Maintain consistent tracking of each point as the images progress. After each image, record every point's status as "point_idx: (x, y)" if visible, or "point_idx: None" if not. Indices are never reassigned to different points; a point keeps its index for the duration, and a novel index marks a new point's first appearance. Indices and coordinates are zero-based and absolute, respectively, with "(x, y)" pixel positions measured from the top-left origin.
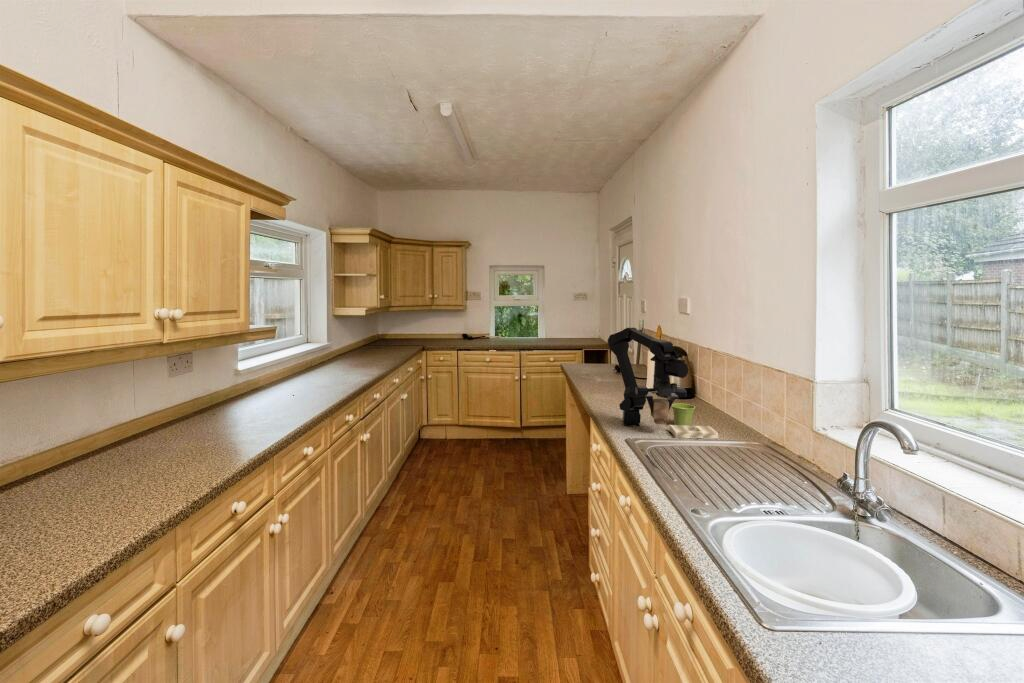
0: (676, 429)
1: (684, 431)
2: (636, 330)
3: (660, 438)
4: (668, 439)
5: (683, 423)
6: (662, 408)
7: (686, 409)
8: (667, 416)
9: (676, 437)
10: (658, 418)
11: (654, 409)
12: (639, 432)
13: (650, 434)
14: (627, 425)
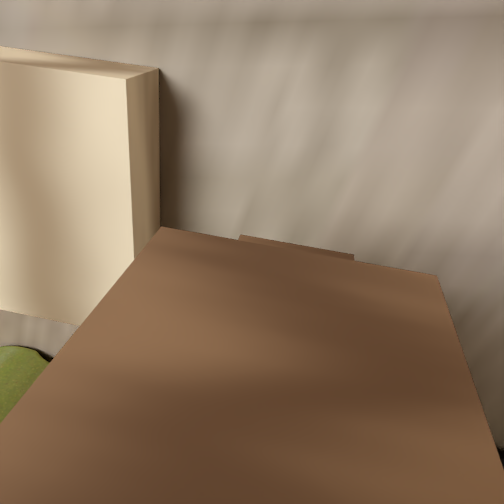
0: (96, 183)
1: (13, 99)
2: None
3: (343, 59)
4: (255, 16)
5: (6, 373)
6: (227, 412)
7: None
8: (156, 252)
9: (142, 66)
10: (339, 259)
11: (478, 431)
12: (486, 283)
13: (395, 214)
14: (498, 450)
